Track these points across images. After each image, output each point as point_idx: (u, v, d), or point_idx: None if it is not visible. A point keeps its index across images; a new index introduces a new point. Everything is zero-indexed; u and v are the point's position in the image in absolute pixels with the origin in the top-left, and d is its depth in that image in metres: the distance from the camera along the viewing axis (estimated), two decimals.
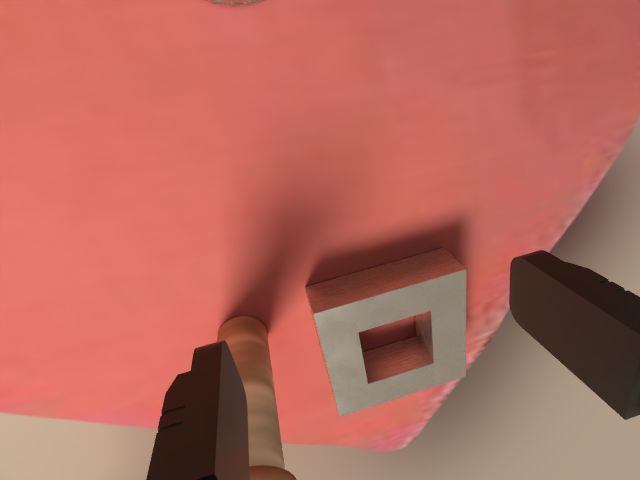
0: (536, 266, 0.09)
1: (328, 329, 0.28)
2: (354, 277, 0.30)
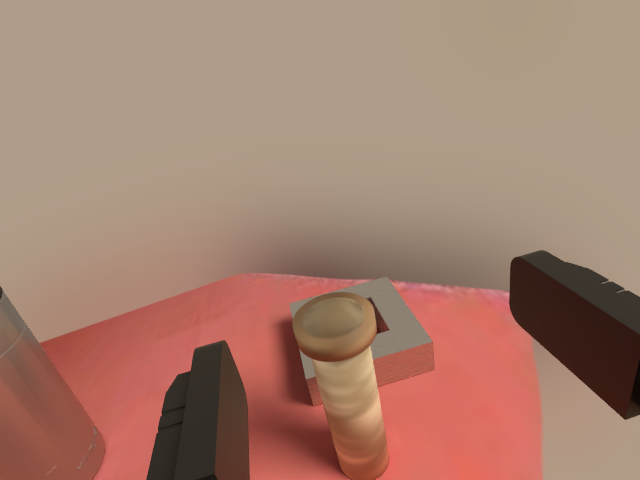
0: (536, 266, 0.09)
1: None
2: None
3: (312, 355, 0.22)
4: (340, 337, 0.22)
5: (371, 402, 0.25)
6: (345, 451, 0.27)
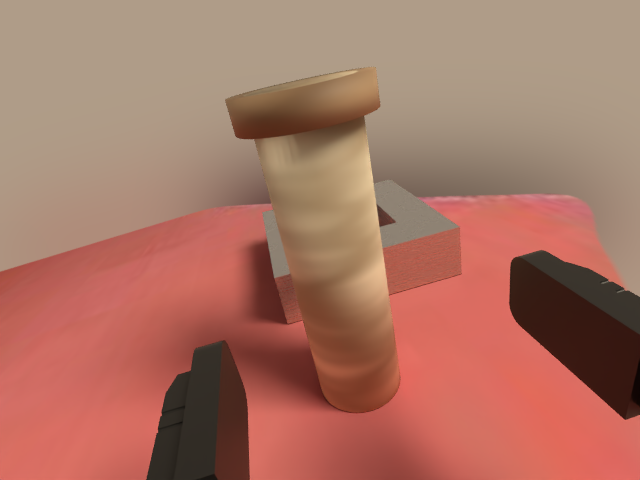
0: (536, 266, 0.09)
1: None
2: None
3: (256, 128, 0.11)
4: (309, 84, 0.11)
5: (372, 257, 0.14)
6: (329, 354, 0.16)
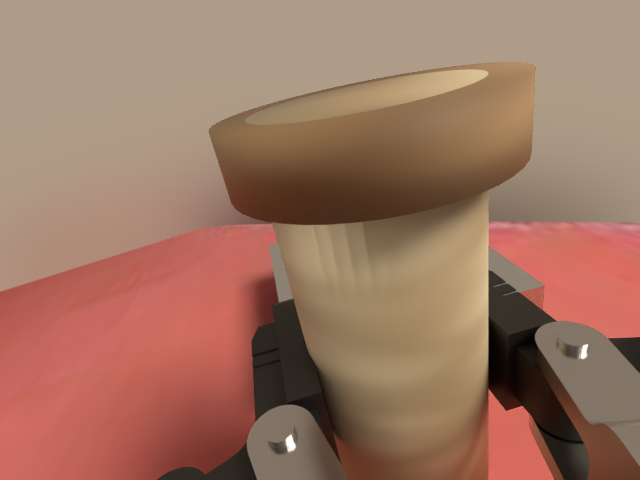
0: None
1: None
2: None
3: (278, 202, 0.05)
4: (407, 103, 0.05)
5: (481, 410, 0.08)
6: None
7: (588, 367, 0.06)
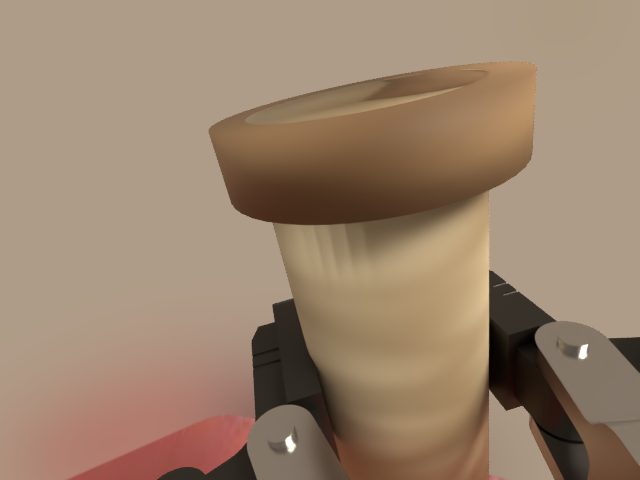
0: None
1: None
2: None
3: (278, 202, 0.05)
4: (407, 103, 0.05)
5: (481, 410, 0.08)
6: None
7: (588, 367, 0.06)
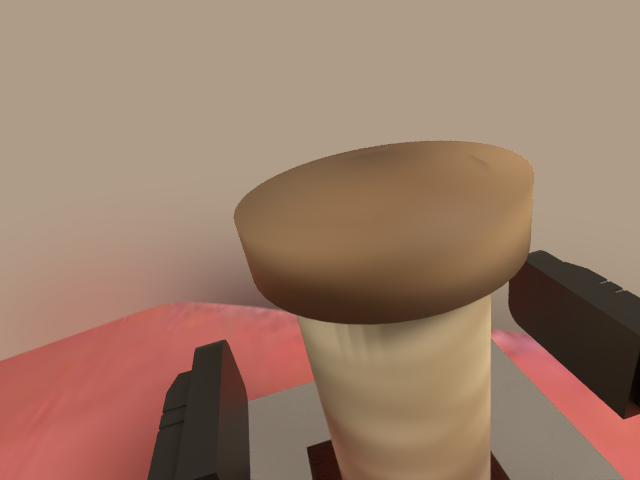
0: (535, 266, 0.09)
1: None
2: None
3: (301, 301, 0.06)
4: (418, 219, 0.05)
5: (484, 461, 0.08)
6: None
7: None
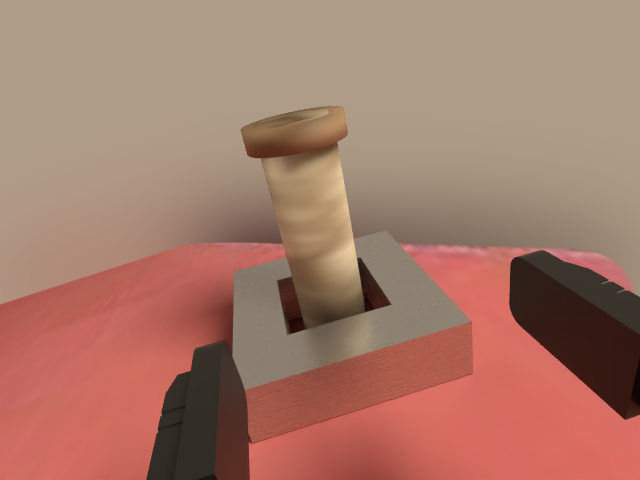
0: (536, 266, 0.09)
1: (268, 369, 0.18)
2: None
3: (262, 151, 0.17)
4: (297, 123, 0.17)
5: (343, 240, 0.20)
6: (314, 312, 0.22)
7: None
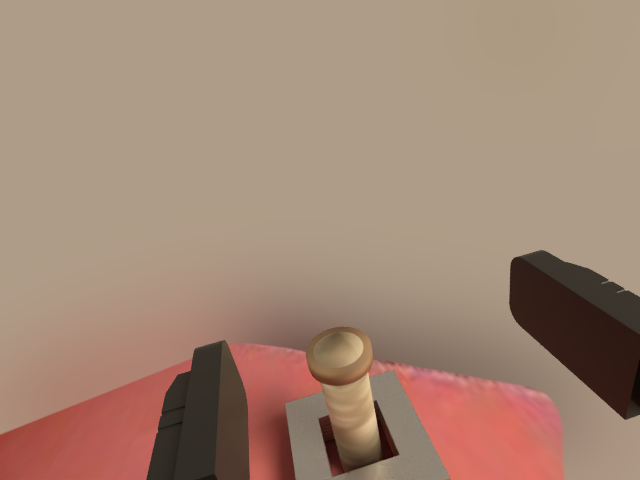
0: (536, 266, 0.09)
1: None
2: None
3: (322, 380, 0.28)
4: (344, 366, 0.28)
5: (369, 416, 0.31)
6: (347, 456, 0.33)
7: None
